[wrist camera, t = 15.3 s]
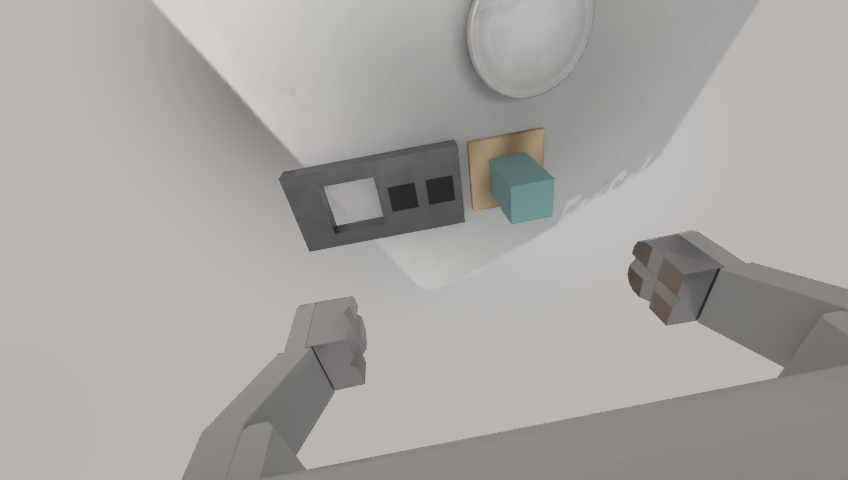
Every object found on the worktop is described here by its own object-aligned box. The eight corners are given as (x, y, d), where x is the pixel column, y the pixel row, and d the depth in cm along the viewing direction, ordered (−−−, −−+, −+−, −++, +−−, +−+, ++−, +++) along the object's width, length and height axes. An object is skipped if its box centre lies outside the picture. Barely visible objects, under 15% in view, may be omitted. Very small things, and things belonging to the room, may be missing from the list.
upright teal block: (525, 151, 40) (554, 178, 33) (524, 185, 43) (551, 216, 36) (488, 159, 40) (510, 186, 33) (490, 192, 42) (511, 224, 36)
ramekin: (516, -80, 29) (540, -97, 25) (589, 17, 34) (620, 17, 29) (433, 38, 33) (442, 41, 29) (509, 110, 38) (526, 122, 34)
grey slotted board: (453, 140, 39) (457, 145, 37) (461, 214, 44) (464, 222, 43) (283, 172, 39) (278, 179, 37) (312, 242, 44) (309, 252, 43)
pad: (542, 127, 39) (544, 129, 39) (539, 196, 44) (541, 198, 44) (466, 141, 39) (468, 143, 39) (472, 209, 44) (473, 211, 44)
